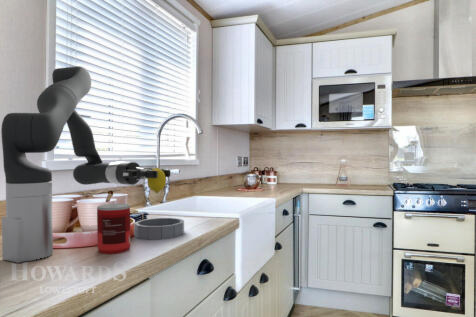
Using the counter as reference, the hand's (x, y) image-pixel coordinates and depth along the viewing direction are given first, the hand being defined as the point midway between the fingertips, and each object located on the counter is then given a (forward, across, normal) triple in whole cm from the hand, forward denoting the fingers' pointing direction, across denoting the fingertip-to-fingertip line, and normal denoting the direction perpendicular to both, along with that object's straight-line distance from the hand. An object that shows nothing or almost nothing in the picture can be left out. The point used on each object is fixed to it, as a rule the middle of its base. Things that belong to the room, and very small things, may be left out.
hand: (163, 173), depth 108 cm
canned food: (+3, -22, +18) cm, 29 cm away
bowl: (+1, -3, +18) cm, 18 cm away
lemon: (-3, 0, +6) cm, 7 cm away
